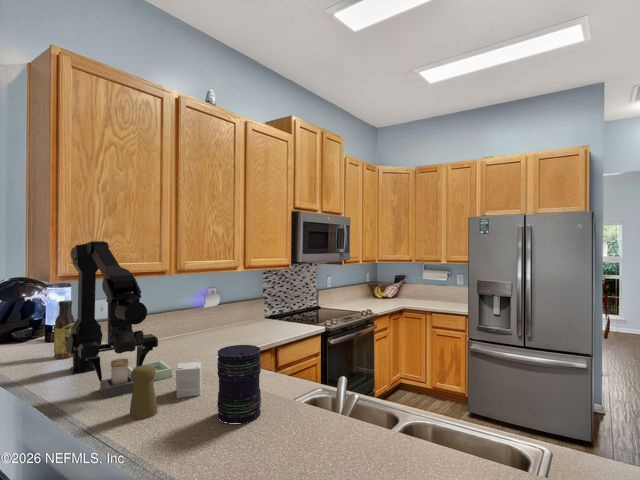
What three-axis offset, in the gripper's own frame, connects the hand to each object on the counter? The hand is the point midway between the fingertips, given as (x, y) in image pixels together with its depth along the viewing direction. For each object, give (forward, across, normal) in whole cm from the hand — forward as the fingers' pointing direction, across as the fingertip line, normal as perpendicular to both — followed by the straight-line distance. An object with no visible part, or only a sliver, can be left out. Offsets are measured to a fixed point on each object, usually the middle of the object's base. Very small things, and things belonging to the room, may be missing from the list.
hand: (119, 377), depth 105 cm
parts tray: (+4, +10, +7) cm, 12 cm away
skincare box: (+4, +14, -14) cm, 20 cm away
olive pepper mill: (+4, +1, -20) cm, 20 cm away
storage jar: (+4, +18, -35) cm, 40 cm away
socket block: (+4, 0, 0) cm, 4 cm away
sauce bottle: (+4, -8, +48) cm, 49 cm away
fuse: (+4, 0, 0) cm, 4 cm away
